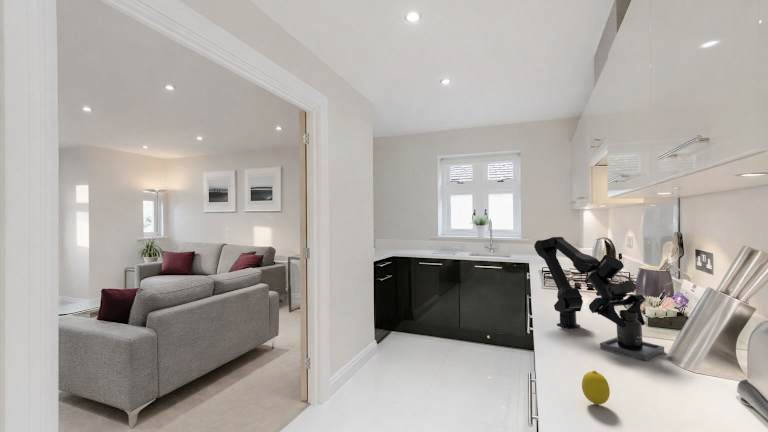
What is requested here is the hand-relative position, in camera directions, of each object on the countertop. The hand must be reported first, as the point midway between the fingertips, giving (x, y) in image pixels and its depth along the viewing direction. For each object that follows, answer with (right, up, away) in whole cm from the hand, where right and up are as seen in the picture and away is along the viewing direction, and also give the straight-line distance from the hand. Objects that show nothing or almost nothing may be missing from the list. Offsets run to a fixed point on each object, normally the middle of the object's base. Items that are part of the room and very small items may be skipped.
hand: (633, 325), depth 109 cm
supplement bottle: (0, -8, +1) cm, 8 cm away
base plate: (0, -9, +1) cm, 9 cm away
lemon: (-32, -9, -31) cm, 46 cm away
